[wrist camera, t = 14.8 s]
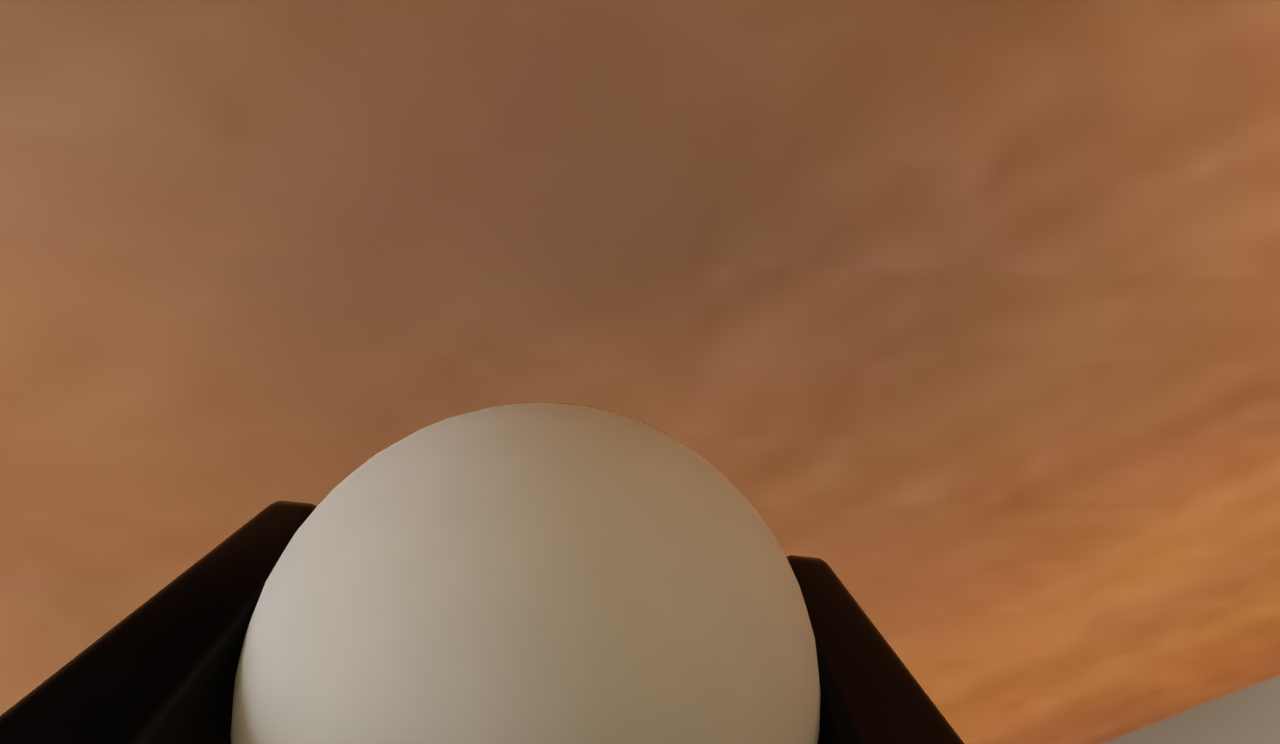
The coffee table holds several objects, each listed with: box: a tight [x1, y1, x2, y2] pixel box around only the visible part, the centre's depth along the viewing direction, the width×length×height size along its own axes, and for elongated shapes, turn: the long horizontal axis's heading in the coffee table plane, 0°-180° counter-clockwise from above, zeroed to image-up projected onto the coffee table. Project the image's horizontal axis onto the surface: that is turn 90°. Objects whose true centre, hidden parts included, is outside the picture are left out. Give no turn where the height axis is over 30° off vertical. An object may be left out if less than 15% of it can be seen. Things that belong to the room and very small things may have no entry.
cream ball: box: [230, 402, 821, 744], centre depth 7 cm, size 5×5×5 cm
